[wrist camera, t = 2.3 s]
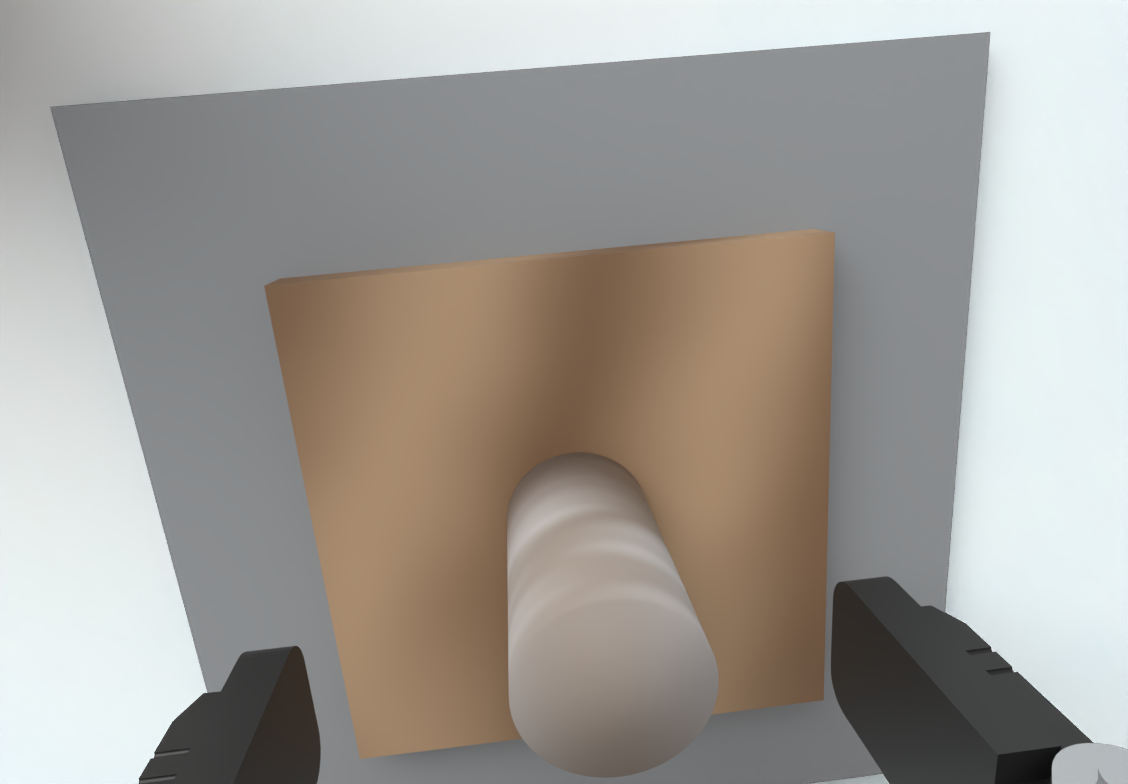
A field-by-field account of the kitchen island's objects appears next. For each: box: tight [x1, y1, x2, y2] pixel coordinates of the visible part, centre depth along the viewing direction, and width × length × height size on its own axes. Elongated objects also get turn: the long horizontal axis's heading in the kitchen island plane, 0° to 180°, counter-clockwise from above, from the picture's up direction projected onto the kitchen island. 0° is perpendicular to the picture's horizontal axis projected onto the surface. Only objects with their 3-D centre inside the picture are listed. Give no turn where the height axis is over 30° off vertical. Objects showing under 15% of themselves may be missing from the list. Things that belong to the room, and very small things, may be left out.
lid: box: [264, 229, 835, 778], centre depth 13 cm, size 11×11×6 cm
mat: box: [50, 32, 990, 784], centre depth 17 cm, size 18×18×1 cm
